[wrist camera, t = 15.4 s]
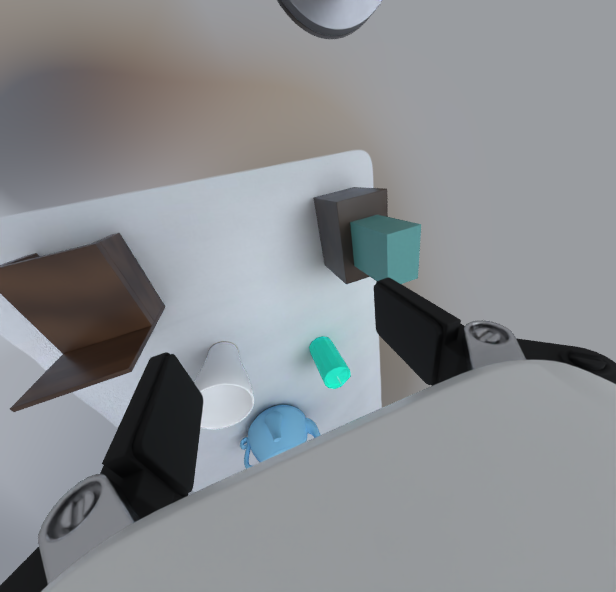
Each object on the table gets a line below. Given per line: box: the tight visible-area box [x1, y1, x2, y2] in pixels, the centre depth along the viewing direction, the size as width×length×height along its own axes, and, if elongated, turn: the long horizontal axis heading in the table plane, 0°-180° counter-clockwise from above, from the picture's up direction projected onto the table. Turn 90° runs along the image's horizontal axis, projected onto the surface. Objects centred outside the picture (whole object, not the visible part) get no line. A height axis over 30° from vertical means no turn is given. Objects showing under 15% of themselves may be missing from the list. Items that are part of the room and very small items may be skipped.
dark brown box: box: [314, 187, 388, 284], centre depth 39 cm, size 13×8×10 cm, turn 11°
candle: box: [309, 336, 351, 389], centre depth 50 cm, size 6×6×12 cm
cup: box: [194, 342, 254, 429], centre depth 42 cm, size 10×10×14 cm
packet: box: [350, 215, 421, 284], centre depth 31 cm, size 7×4×9 cm, turn 11°
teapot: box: [240, 405, 320, 469], centre depth 58 cm, size 17×19×12 cm
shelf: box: [0, 233, 165, 412], centre depth 29 cm, size 13×12×16 cm
